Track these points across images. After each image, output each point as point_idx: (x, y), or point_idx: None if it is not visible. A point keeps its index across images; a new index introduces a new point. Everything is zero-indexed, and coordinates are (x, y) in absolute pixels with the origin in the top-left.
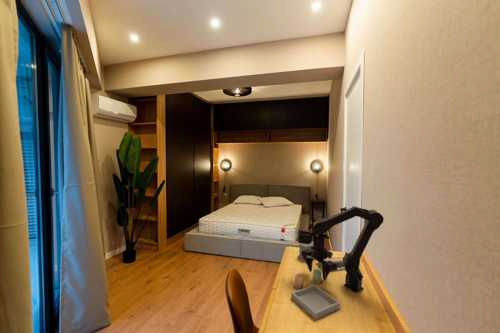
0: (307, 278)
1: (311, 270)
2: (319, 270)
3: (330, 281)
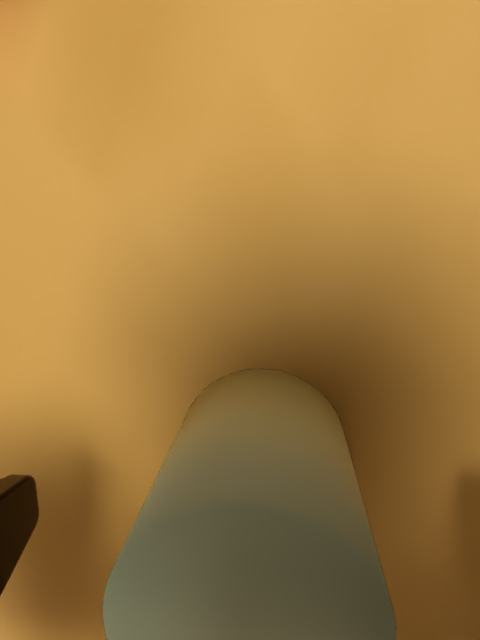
0: (126, 539)
1: (18, 496)
2: (248, 538)
3: (433, 195)
